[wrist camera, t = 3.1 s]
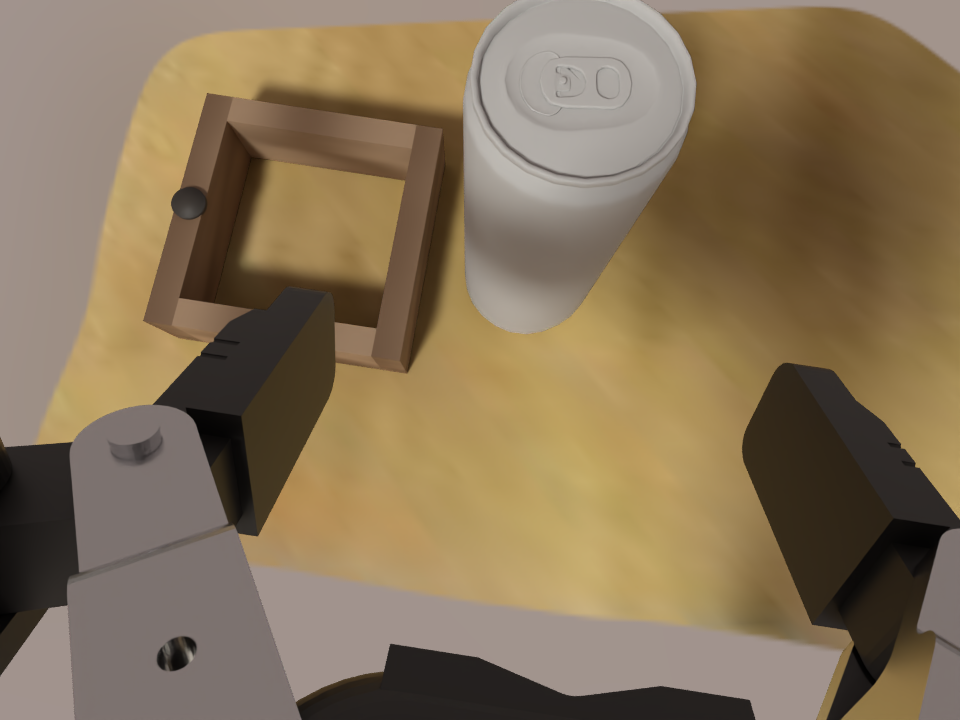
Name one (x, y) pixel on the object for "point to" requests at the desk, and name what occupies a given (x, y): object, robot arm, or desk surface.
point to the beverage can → (564, 148)
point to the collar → (307, 141)
